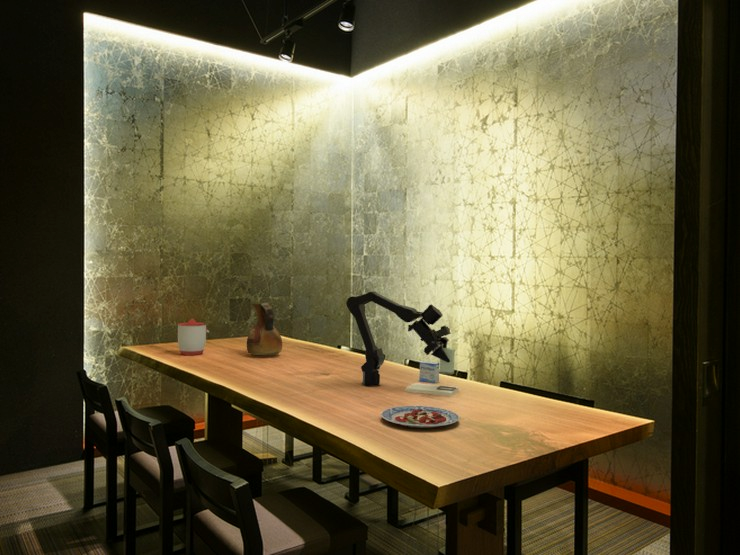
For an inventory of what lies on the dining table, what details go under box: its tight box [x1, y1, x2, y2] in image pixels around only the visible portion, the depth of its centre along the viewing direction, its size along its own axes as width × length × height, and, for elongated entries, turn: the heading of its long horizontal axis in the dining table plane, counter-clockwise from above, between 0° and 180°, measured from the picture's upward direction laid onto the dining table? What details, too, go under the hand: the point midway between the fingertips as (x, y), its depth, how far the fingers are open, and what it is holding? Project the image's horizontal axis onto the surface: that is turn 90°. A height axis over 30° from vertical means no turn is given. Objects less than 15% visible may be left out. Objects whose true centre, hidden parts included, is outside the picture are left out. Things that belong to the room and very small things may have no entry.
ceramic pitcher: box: [246, 302, 283, 356], centre depth 322 cm, size 20×20×30 cm
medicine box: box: [418, 360, 440, 384], centre depth 258 cm, size 8×4×9 cm, turn 62°
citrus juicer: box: [177, 318, 210, 356], centre depth 323 cm, size 16×17×20 cm
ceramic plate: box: [380, 405, 460, 429], centre depth 191 cm, size 26×26×3 cm
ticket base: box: [405, 382, 459, 397], centre depth 238 cm, size 19×12×2 cm, turn 68°
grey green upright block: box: [439, 347, 455, 375], centre depth 235 cm, size 5×4×10 cm
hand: (450, 361), depth 235 cm, fingers closed on grey green upright block, 3 cm apart
